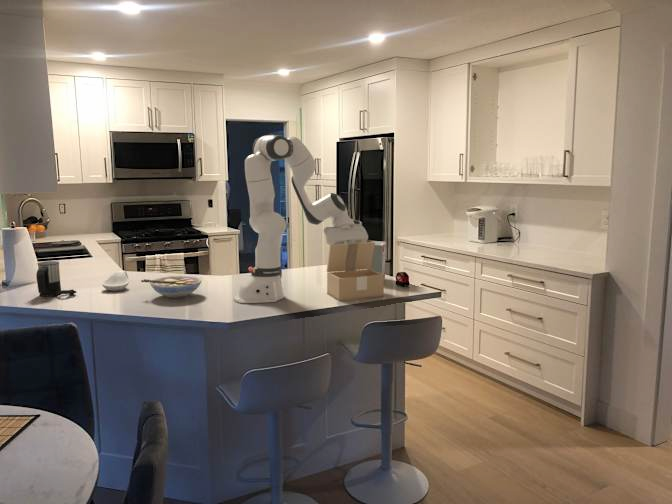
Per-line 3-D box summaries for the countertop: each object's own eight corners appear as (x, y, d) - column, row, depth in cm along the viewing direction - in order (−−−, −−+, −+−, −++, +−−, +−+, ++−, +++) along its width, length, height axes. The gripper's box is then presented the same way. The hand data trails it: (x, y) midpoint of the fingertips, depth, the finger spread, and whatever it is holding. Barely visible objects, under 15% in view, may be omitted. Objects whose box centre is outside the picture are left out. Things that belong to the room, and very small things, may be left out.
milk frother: (41, 292, 254) (38, 261, 251) (78, 290, 259) (76, 259, 257) (36, 300, 240) (33, 267, 238) (75, 297, 246) (73, 264, 243)
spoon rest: (126, 292, 256) (125, 277, 254) (99, 293, 254) (98, 278, 252) (135, 281, 279) (134, 267, 277) (111, 282, 277) (110, 268, 275)
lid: (331, 245, 246) (330, 244, 247) (327, 272, 252) (326, 271, 253) (375, 242, 254) (374, 241, 255) (370, 268, 261) (369, 267, 262)
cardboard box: (338, 301, 241) (339, 278, 240) (327, 293, 254) (327, 272, 252) (383, 296, 249) (384, 275, 248) (370, 289, 262) (370, 269, 261)
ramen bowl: (214, 292, 256) (213, 275, 254) (187, 304, 234) (186, 286, 233) (167, 288, 263) (166, 272, 261) (137, 300, 241) (136, 282, 240)
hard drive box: (381, 285, 272) (382, 245, 269) (366, 284, 274) (367, 244, 271) (385, 278, 287) (386, 241, 284) (370, 278, 289) (371, 240, 286)
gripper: (324, 223, 254) (332, 247, 247) (364, 221, 262) (373, 244, 255) (320, 231, 259) (328, 255, 252) (360, 229, 266) (368, 252, 259)
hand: (351, 250), depth 253 cm, fingers closed, pressing on lid
